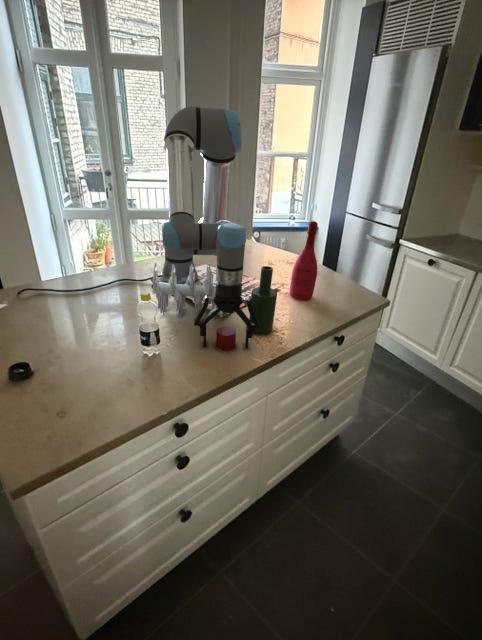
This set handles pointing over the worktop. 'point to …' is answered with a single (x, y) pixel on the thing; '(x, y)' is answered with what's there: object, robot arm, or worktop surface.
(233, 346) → the cap
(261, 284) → the oil bottle
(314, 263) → the wine bottle
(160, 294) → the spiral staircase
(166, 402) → the worktop surface
